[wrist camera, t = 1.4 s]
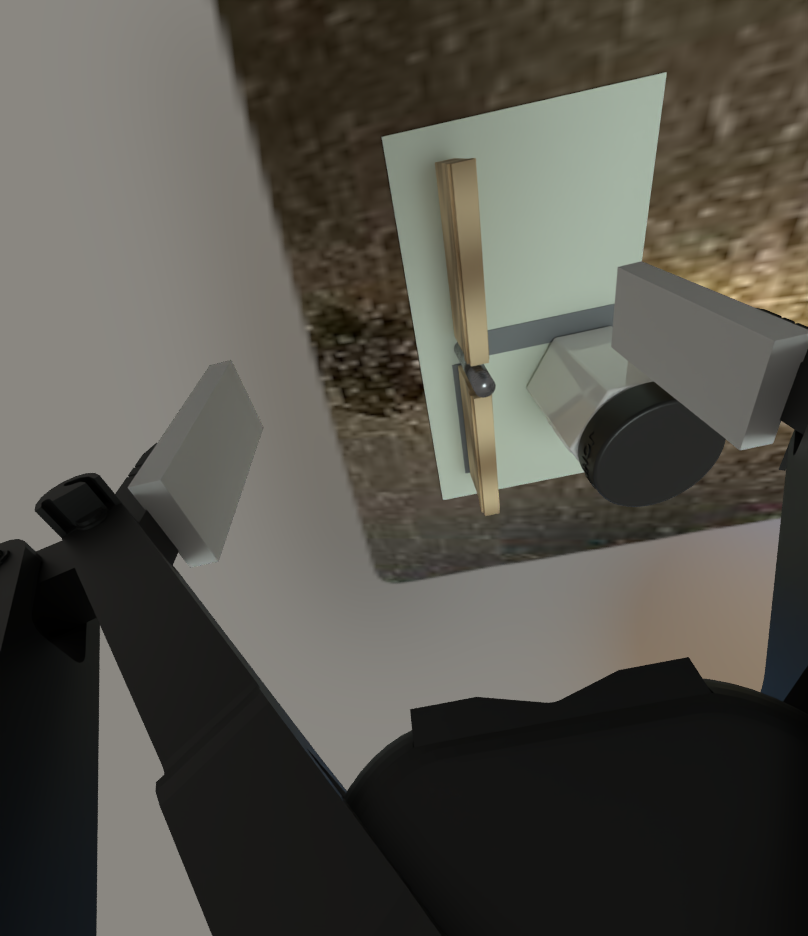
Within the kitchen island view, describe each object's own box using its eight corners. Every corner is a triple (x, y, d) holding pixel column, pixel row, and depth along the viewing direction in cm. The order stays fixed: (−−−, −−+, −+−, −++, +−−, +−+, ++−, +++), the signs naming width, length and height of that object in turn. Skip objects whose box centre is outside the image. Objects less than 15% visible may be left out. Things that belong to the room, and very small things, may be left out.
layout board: (381, 137, 26) (381, 136, 26) (663, 72, 26) (667, 72, 25) (442, 498, 43) (443, 500, 43) (613, 464, 43) (615, 466, 42)
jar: (509, 370, 35) (567, 454, 26) (599, 301, 33) (702, 365, 23) (560, 438, 40) (626, 530, 30) (644, 382, 37) (745, 463, 28)
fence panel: (472, 332, 33) (491, 362, 28) (452, 337, 33) (468, 367, 28) (456, 157, 27) (478, 157, 22) (432, 163, 27) (448, 164, 22)
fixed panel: (456, 366, 34) (471, 399, 30) (474, 362, 34) (493, 395, 30) (468, 474, 41) (483, 516, 36) (484, 471, 41) (501, 512, 36)
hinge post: (452, 340, 34) (473, 380, 28) (470, 336, 34) (495, 375, 28) (454, 356, 35) (475, 399, 29) (471, 353, 35) (496, 395, 29)
